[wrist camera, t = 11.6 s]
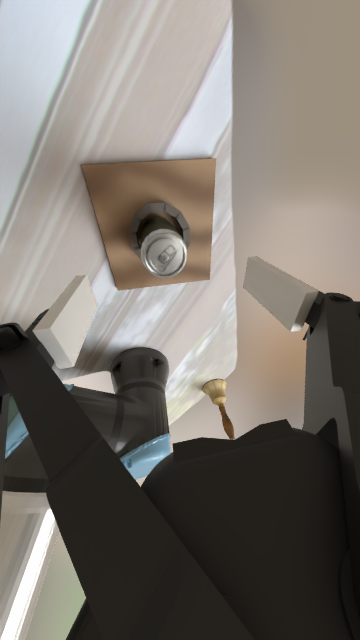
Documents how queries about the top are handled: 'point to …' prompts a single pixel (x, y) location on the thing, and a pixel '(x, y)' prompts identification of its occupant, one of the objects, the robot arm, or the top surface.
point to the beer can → (162, 248)
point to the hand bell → (219, 402)
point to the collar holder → (153, 214)
